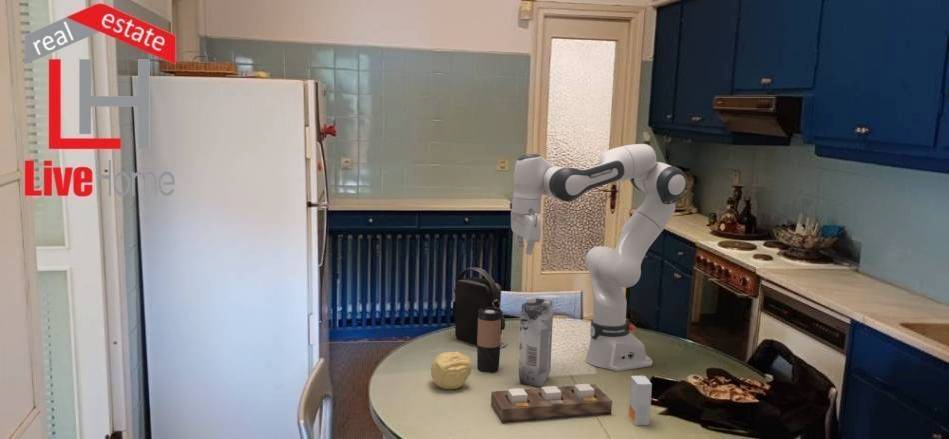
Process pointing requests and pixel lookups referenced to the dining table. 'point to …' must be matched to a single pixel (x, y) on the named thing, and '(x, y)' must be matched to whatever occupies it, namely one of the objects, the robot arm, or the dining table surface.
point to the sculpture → (450, 370)
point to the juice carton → (535, 341)
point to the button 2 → (583, 391)
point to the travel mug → (488, 339)
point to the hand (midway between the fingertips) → (524, 251)
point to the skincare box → (640, 400)
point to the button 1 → (517, 396)
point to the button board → (550, 405)
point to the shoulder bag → (473, 305)
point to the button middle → (550, 393)
